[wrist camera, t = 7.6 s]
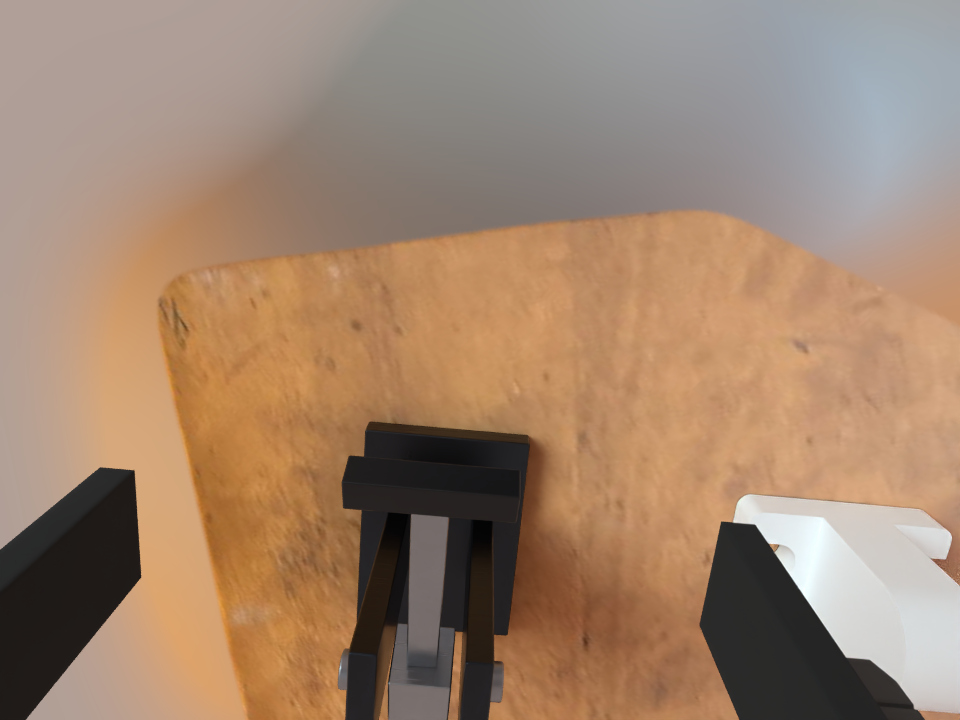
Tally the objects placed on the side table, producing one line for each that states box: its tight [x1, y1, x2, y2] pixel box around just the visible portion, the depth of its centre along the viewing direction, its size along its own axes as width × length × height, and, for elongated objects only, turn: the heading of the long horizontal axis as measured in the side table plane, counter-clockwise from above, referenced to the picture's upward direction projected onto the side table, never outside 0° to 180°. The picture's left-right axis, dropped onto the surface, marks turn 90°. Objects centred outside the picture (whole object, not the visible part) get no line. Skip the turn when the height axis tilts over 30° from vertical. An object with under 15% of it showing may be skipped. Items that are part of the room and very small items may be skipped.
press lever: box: [342, 456, 520, 720], centre depth 24 cm, size 12×5×2 cm, turn 175°
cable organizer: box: [733, 494, 960, 714], centre depth 32 cm, size 5×10×10 cm, turn 85°
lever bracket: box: [338, 422, 530, 720], centre depth 31 cm, size 11×8×13 cm
